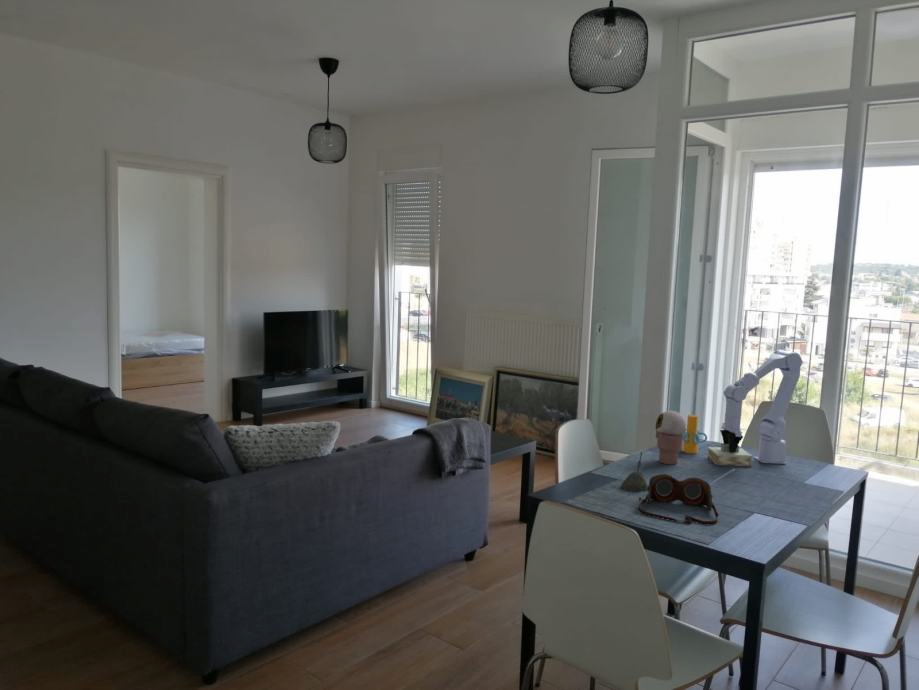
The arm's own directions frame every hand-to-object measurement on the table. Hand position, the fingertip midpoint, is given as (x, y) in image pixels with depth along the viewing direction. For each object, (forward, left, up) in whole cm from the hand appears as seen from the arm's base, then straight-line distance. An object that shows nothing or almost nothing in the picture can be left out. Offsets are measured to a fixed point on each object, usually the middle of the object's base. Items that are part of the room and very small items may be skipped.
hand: (729, 450), depth 277 cm
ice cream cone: (+25, +4, -5) cm, 26 cm away
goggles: (+39, +58, -5) cm, 70 cm away
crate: (0, 0, -5) cm, 5 cm away
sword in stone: (+46, +38, -5) cm, 60 cm away
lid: (0, 0, -1) cm, 1 cm away
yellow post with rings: (+11, -13, -5) cm, 18 cm away
